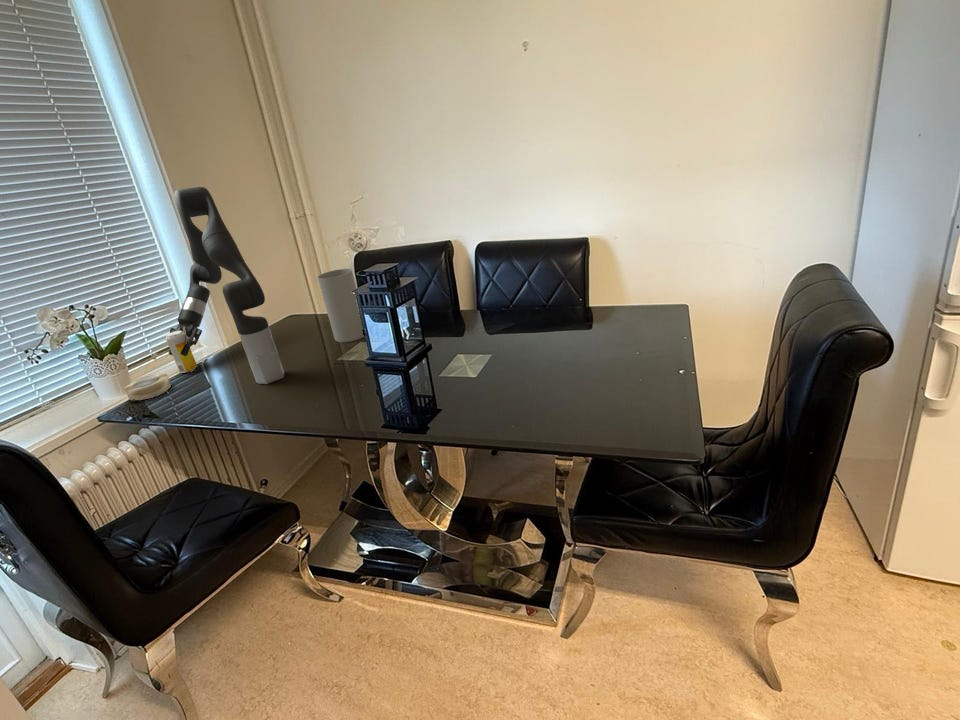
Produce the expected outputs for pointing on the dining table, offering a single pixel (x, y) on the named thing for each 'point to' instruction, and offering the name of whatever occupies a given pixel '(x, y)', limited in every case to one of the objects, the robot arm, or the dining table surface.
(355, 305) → the cylinder vase
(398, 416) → the dining table surface
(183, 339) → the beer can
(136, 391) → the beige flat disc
